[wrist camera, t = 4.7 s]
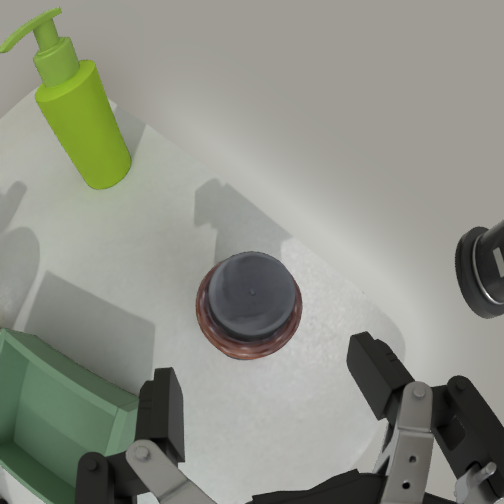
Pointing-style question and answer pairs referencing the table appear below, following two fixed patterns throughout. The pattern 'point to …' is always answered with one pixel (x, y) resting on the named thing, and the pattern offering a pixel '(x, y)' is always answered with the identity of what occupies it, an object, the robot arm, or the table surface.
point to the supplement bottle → (249, 305)
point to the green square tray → (56, 416)
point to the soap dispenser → (75, 104)
